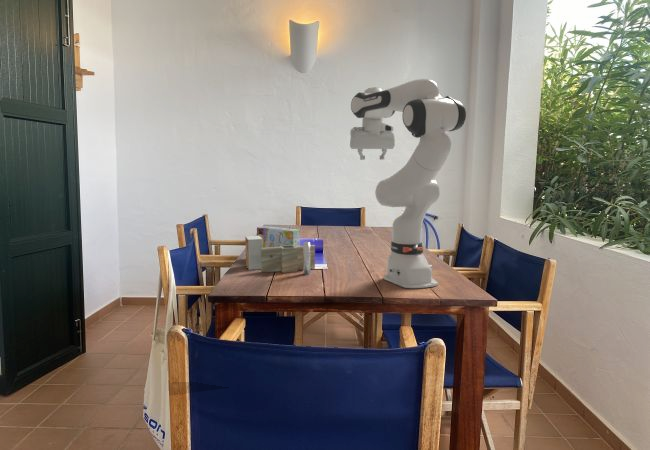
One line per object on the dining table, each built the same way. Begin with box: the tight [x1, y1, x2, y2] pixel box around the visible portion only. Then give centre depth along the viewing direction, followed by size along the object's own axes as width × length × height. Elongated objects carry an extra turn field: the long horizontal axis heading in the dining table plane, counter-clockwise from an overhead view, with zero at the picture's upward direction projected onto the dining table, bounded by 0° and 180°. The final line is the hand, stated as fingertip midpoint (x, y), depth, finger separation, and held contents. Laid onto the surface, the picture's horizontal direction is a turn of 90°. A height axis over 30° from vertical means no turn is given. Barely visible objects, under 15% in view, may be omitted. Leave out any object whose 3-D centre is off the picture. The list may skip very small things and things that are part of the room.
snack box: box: [256, 225, 301, 248], centre depth 217 cm, size 21×6×15 cm, turn 56°
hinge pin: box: [302, 241, 311, 276], centre depth 193 cm, size 3×3×13 cm
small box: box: [244, 235, 263, 271], centre depth 204 cm, size 8×6×13 cm
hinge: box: [260, 244, 316, 274], centre depth 199 cm, size 6×22×10 cm, turn 106°
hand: (372, 159), depth 208 cm, fingers open, 8 cm apart
